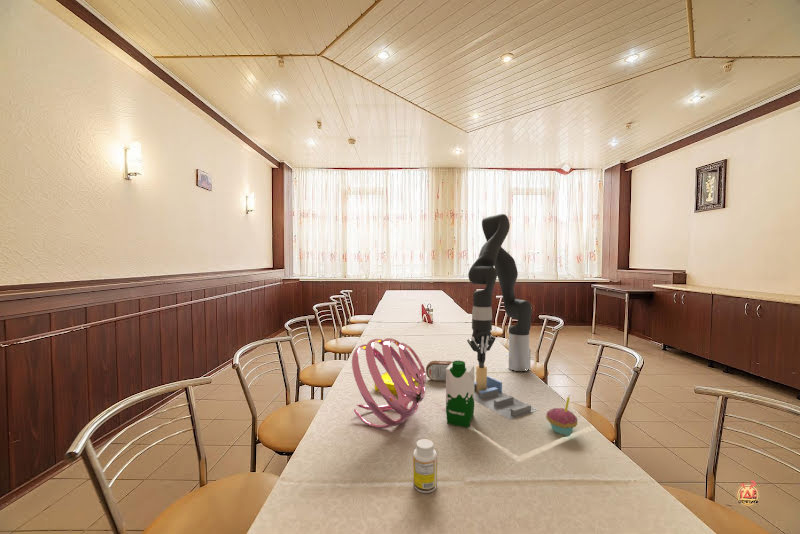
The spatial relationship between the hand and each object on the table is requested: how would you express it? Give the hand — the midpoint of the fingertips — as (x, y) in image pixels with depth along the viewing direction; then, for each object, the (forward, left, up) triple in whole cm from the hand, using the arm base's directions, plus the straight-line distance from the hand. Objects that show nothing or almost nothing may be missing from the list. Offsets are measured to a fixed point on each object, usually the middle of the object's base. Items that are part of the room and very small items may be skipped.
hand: (481, 362), depth 127 cm
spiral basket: (+40, 0, -13) cm, 42 cm away
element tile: (+24, -23, -14) cm, 36 cm away
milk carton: (+20, +12, -13) cm, 27 cm away
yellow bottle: (0, 0, -12) cm, 12 cm away
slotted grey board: (0, +8, -13) cm, 15 cm away
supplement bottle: (+47, +32, -13) cm, 58 cm away
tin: (+4, -19, -13) cm, 24 cm away
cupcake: (-2, +33, -13) cm, 35 cm away
